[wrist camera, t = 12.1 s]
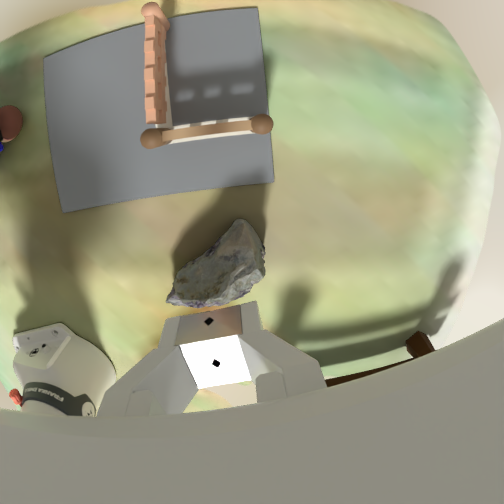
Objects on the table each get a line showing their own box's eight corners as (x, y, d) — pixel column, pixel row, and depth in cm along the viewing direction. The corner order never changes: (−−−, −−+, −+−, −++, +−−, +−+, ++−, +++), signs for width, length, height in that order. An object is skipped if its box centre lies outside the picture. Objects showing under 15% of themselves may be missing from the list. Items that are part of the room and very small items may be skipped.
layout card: (64, 212, 35) (62, 213, 35) (45, 58, 26) (43, 58, 26) (273, 181, 36) (274, 182, 35) (257, 9, 27) (257, 7, 27)
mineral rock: (174, 298, 41) (161, 344, 32) (158, 224, 37) (136, 258, 28) (267, 289, 42) (276, 335, 33) (261, 213, 37) (271, 243, 28)
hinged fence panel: (171, 122, 31) (159, 122, 26) (156, 124, 31) (141, 124, 26) (170, 19, 26) (159, 0, 21) (155, 21, 26) (141, 3, 20)
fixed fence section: (158, 145, 33) (141, 150, 26) (156, 129, 32) (138, 130, 26) (265, 132, 33) (274, 133, 27) (264, 115, 32) (272, 112, 26)
